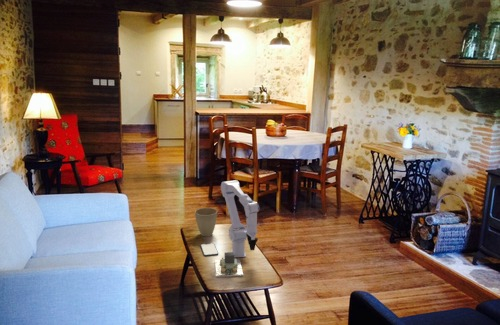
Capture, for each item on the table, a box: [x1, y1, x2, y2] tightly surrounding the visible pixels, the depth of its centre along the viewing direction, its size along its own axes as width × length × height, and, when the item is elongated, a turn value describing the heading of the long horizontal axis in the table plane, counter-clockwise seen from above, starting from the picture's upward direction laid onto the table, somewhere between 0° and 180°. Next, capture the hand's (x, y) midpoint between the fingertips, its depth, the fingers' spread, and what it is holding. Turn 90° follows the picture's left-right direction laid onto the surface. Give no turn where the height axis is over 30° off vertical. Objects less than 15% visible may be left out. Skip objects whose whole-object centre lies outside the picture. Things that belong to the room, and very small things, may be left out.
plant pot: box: [194, 207, 219, 237], centre depth 274 cm, size 15×15×16 cm
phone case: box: [200, 242, 219, 257], centre depth 250 cm, size 9×2×16 cm
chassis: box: [214, 257, 244, 278], centre depth 226 cm, size 18×14×4 cm
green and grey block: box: [221, 251, 238, 269], centre depth 225 cm, size 11×8×6 cm
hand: (251, 247), depth 230 cm, fingers open, 7 cm apart
